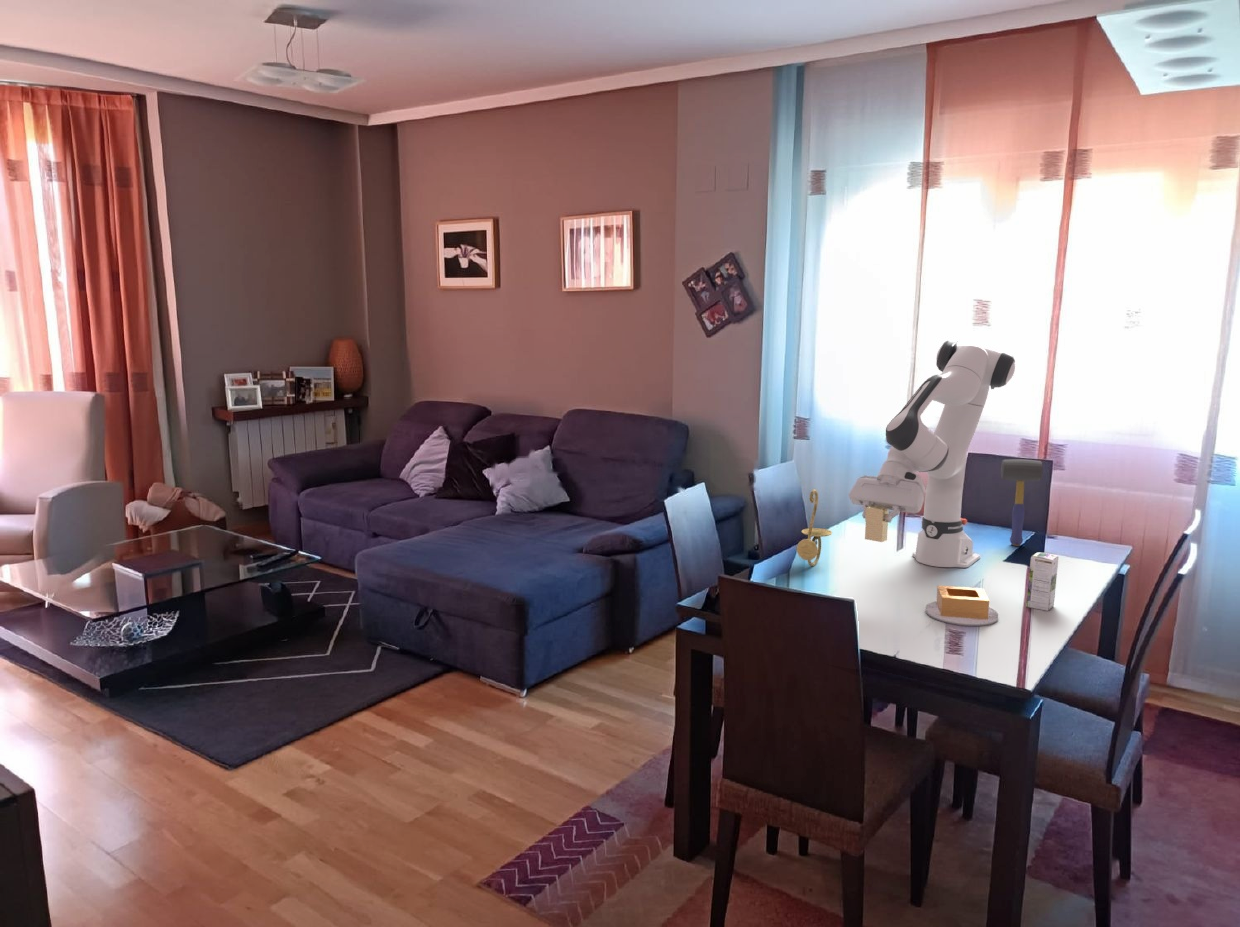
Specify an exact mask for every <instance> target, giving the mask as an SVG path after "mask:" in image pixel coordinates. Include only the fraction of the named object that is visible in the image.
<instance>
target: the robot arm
mask: <svg viewBox="0 0 1240 927" xmlns="http://www.w3.org/2000/svg"><path fill="white" fill-rule="evenodd" d="M935 358H936V362H935V363H936V367H937V369H938V370H939V371H940V372H941V373H940V374H935V375H931V376H930V377H928V378H927V379H926V380H925V381H924V382H923V383H922V384H921V385H920V386H919V388H918V389H917V390H915V392H914V394H913V395H912V396H911V397H910V399H909V400H908V401H907V402H906V404H905V405H904V406H903V408H902V409H900V411H899V412H898V413H897V414H896V415H895V416H894V417H893V418H891V421H889V423H888V424H887V426H886V427H885V439H886V442H887V444H889V445H890V448H889V450H888V453H887V458H886V460H885V461H884V462H883V464H882V466H881V468H880V470H879V472H878V474H877V476H872V475H870V476H869V475H863V476H860V477H858V478H857V479H856V482H855V483H854V485H853V486H852V488H851V490H850V491H849V493H848V498H849V500H850V502H851V503H852V504H853V505H856V506H857V505H858V506H862V509H863V512H862V513H861V516H862V518H863V519H865V516H866V507H869V506H872V505H873V506H880V507H886V508H889V514H885V517H884V520H885V522H888V523H889V524H890V523H892V521H893V519H894V518H895V517H897V516H898V515H899V514H900V513H901V512H902V513H903V512H904V513H909V514H914V515H915V514H917V513H920V512H921V510H922V508H923V507H924V508H923V509H924V510H923V516H922V519H921V529H922V530H920V531H919V532H918V534H917V541H916V548H915V551H914V552H912V554H911V555H912V557H913V558H915V561H917V562H918V563H919V564H923V565H926V566H932V567H939V568H962V569H963V568H964V569H965V568H969V567H970V566H971V565H973V564H974V563H975V562H977V561H978V560H980V559H981V555H980V554H979V553H976V552H973V551H974V550H973V549H974V544H973V543H974V542H973V539H971V538H970V537H969V536H968V535H967V534H966V532H965V531H964V527H963V526H966V525H967V523H968V519H966V518H962V517H961V516H962V515H961V514H962V501H963V500H962V499H963V490H964V483H965V476H966V475H965V474H966V465H967V452H968V449H969V447H970V445H971V442H972V440H973V436H974V434H975V433H976V431H977V430H976V429H977V427H978V424H979V421H980V419H981V417H982V413H983V410H984V407H985V405H986V401H987V399H988V395H989V390H990V389H991V390H994V389H995V388H1001V387H1004V386H1006V385H1007V384H1008V382H1009V381H1010V380H1011V379H1012V377H1013V376H1014V374H1015V371H1016V370H1015V369H1016V364H1015V363H1016V360H1015V358H1014V356H1013V355H1011V354H1009V353H1008V352H1006V351H1000V350H998V349H995V348H993V347H990V346H987V345H985V344H977V343H973V342H966V341H961V340H960V339H949V340H947V341H945V342H943V343H942V345H941V347H939V349H938V350H937V353H936V357H935ZM932 401H934V402H938V403H940V404H942V405H943V409H942V412H941V414H940V418H939V420H938V422H937V425H936V428H935V430H934V432H933V431H932V430H931V429H930V428H929V427H927V425H925V424H924V423H923V421H922V419H921V416H922V414H923V413H924V412H925V410H926V409H927V408H928V406H929V405H930V404H931V402H932ZM916 472H919V473H926V472H927V481H926V485H925V482H924V480H923V478H922V477H921V476H920V475H919V474H917V473H916ZM923 504H924V506H923Z"/></svg>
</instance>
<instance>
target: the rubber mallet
mask: <svg viewBox="0 0 1240 927" xmlns="http://www.w3.org/2000/svg"><path fill="white" fill-rule="evenodd" d="M1043 471H1044V470H1043V462H1042V461H1041V460H1036V459H1034V460H1033V459H1024V458H1023V459H1022V458H1019V459H1015V458H1013V459H1011V458H1010V459H1003V460H1001V466H1000V475H1001V476H1000V477H1001V479H1002V480H1007V481H1016V487H1015V497H1014V498H1015V500H1014V504H1013V508H1012V513H1011V514H1012V515H1011V523H1012V524H1011V534H1010V537H1009V542H1010V544H1011V545H1012V546H1015V547H1018V546H1021V545H1022V544H1023V541H1024V539H1023V527H1024V526H1023V525H1024V520H1025V505H1024V495H1025V493H1024V492H1025V482H1040V481H1041V480H1042V478H1043V474H1044V473H1043Z"/></svg>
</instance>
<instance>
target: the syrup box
mask: <svg viewBox="0 0 1240 927" xmlns="http://www.w3.org/2000/svg"><path fill="white" fill-rule="evenodd" d="M1059 558H1060V556H1059V555H1057V554H1052V553H1047V552H1040V551H1039V552H1036V553H1034V554H1032V555H1031V557H1030V563H1029V575H1028V582H1027V583H1028V584H1027V592H1026V593H1027V594H1026V595H1027V596H1026V604H1025V605H1026V608H1030V609H1034V610H1035V609H1036V610H1040V611H1047V612H1048V611H1050V610H1051V609H1052V608H1053V607H1054V606H1055V596H1056V595H1055V594H1056V587H1057V578H1058V577H1057V575H1058V567H1059Z"/></svg>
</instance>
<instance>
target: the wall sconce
mask: <svg viewBox="0 0 1240 927" xmlns="http://www.w3.org/2000/svg"><path fill="white" fill-rule="evenodd" d="M809 502H810V503H812V504H814V505H813V510H812V515H811V517H810V522H809V528H804V529H802V530H801V533H802V534H803V535H805V536H807V538H803V539H802V540H800V541H799V542H798V543H797V545H796V552H797V555H798V556H799V557H800V558H801V559H802V560H804V561H807V562H808V565H809V567H810V566H811V567H814V566H816V565H817V564H818V561H819V559H820V557H821V551H822V537H828V536H831V535H832V534H833V532H832V531H831V530H830V529H827V528H819V527H818V528H816V527H813V526H814V521H815V517H816V515H817V514H816V513H817V509H818V503H819V493H818V490H816V489H812V490H811V491H810V493H809ZM812 560H814V561H813V562H812Z"/></svg>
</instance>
